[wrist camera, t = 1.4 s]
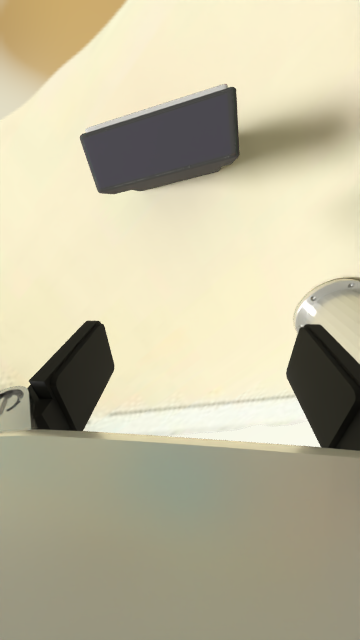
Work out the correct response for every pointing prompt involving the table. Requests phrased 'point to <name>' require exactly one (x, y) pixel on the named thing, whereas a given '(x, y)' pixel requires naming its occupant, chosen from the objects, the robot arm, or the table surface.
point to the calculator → (164, 142)
